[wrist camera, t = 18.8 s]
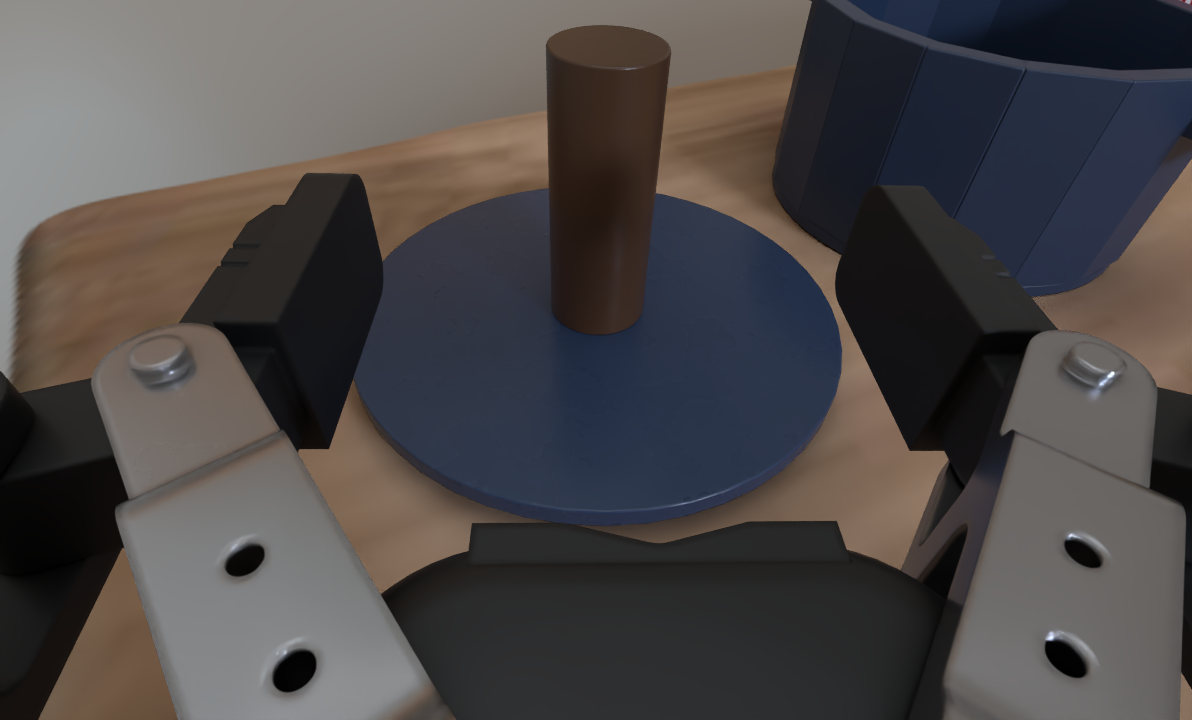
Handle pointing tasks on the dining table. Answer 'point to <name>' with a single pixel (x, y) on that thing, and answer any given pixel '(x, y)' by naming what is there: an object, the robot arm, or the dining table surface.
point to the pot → (994, 122)
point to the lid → (599, 324)
